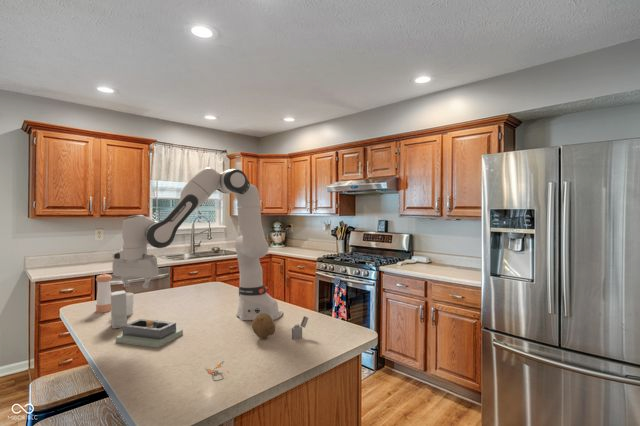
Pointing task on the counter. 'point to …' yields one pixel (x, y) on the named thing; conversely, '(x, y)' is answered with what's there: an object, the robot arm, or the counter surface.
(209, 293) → the counter surface
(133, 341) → the plate
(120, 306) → the skincare box
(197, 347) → the counter surface
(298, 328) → the lighter
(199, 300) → the counter surface
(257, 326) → the natural sponge
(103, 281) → the pepper shaker
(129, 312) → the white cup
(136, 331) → the grey rectangular frame
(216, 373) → the key chain
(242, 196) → the robot arm
